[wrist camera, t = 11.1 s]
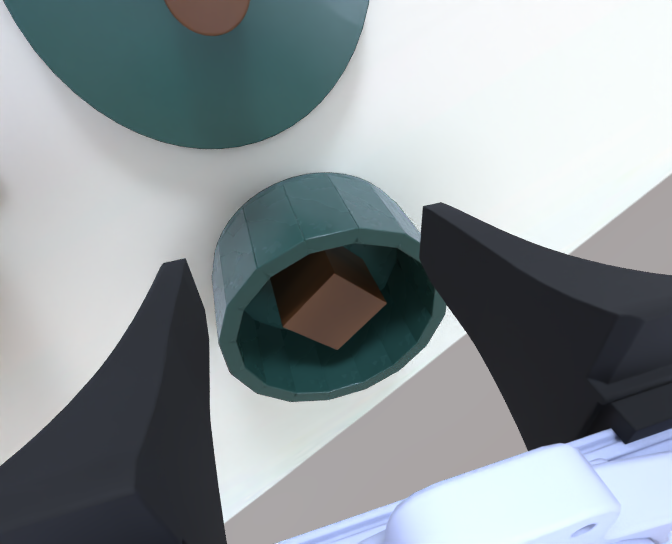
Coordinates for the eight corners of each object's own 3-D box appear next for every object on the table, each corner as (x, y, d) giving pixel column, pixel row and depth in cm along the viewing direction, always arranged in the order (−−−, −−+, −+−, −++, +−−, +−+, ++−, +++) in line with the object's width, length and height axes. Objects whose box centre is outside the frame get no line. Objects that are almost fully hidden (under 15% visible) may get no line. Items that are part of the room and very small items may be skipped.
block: (269, 278, 24) (282, 327, 21) (314, 227, 23) (334, 273, 20) (319, 303, 27) (337, 350, 24) (363, 258, 26) (387, 303, 23)
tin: (166, 249, 22) (164, 324, 18) (360, 129, 21) (404, 179, 17) (282, 357, 30) (299, 426, 26) (428, 273, 29) (470, 331, 25)
